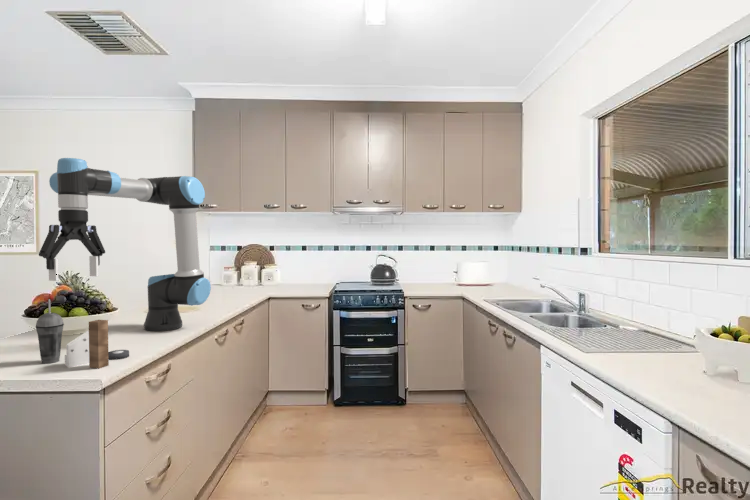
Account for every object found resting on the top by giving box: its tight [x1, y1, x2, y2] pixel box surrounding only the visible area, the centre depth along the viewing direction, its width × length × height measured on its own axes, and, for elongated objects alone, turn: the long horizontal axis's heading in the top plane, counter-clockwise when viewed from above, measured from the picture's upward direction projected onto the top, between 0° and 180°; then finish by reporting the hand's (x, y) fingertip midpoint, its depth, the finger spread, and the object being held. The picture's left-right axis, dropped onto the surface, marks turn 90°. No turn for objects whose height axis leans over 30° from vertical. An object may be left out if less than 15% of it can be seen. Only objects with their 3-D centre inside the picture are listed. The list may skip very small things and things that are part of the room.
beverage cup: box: [35, 298, 65, 365], centre depth 138 cm, size 7×7×20 cm
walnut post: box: [88, 319, 110, 370], centre depth 133 cm, size 4×4×14 cm
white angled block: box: [64, 330, 89, 368], centre depth 137 cm, size 4×10×9 cm
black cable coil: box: [108, 349, 130, 361], centre depth 144 cm, size 6×6×2 cm
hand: (74, 278), depth 135 cm, fingers open, 13 cm apart
